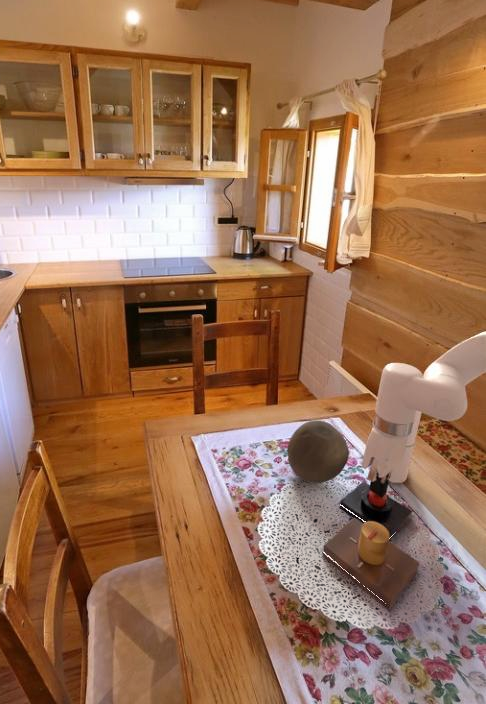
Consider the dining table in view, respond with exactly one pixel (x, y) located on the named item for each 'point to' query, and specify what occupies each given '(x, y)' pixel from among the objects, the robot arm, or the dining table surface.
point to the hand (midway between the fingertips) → (377, 492)
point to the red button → (377, 499)
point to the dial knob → (373, 542)
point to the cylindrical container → (406, 454)
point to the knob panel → (377, 578)
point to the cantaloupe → (317, 452)
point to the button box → (375, 510)
